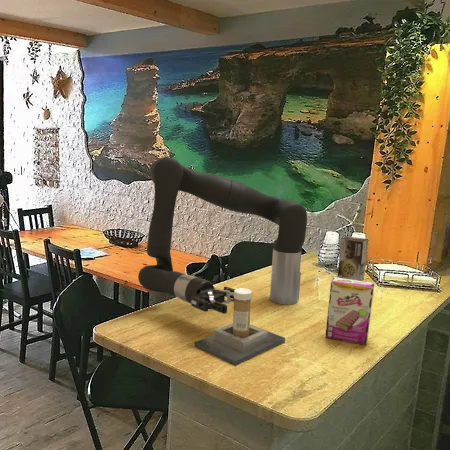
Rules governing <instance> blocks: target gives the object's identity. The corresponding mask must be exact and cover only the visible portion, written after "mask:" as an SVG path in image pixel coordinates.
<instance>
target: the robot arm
mask: <svg viewBox="0 0 450 450" xmlns="http://www.w3.org/2000/svg"><path fill="white" fill-rule="evenodd" d="M149 177H150V179H151V181H152V182H153V184H154V185H153V186H154V203H153V209H152V214H151V219H150V224H149V228H148V236H147V242H146V243H147V246H146V253H147V255H148V256H149V257H150V258H154V259H155V261H156V264H154V265H146V266H143V267H141V269H140V270H139V272H138V275H137V276H138V277H137V278H138V282H139V284H140V285H141V287H142V288H144V289H145V290H147V291H151V292H156V293H163V294H168V295H170V296H173V297H175V298H177V299H180V300H181V301H183V302H186V303H188V304H190V305H191V307H194V308H195V309H198V310H200V311H203V312H206V313H207V312H209V310H210V311H215V312H218V313H221V314H224V315H225V314H227V313H228V305H227V304H230V303H234V290H235V289H236V288H232V287H229V286H224V287H223V289H221V288H215V285H214V284H213V283H212V282H211V281H210V280H208V279H207V280H206V279H205V278H204V279H203V278H201V277H197V276H195V275H190V274H186V273H182V272H180V271H174V268H173V261H172V255H171V250H172V249H171V247H172V237H173V227H174V225H173V224H174V218H175V217H174V216H175V207H176V203H177V198H178V194H179V192H183V193H187V194H189V195H192V196H195V197H196V198H198V199H200V200H202V201H205V202H206V203H210V204H211V205H214V206H217V207H219V208H223V209H225V210H228V211H232V212H236V213H240V214H247V215H255V216H258V217H260V218H263V219H265V220H267V221H269V222H272V223H273V224H276V225H277V226H278V231H277V232H278V233H277V238H276V239H274V241H273V246H272V247H273V249H272V262H271V275H270V276H271V277H270V290H269V291H270V292H269V300H270V301H271V302H273V303H274V304H279V305H294V304H297V303H298V300H300V291H301V290H300V289H301V280H302V279H301V276H302V272H301V264H302V260H301V259H302V250H303V245H304V244H305V240H306V234H307V227H308V226H307V225H308V213H307V209H306V208H305V206H303V204H301V203H298V202H296V201H295V200H294V201H293V200H291V199H285V198H280V197H277V196H276V197H275V196H272V195H268V194H265V193H264V192H263V193H262V192H260V191H259V190H257V189H255V188H253V187H251V186H250V185H247V184H244V183H242V182H239V181H237V180H234V179H231V178H228V177H224V176H222V175H216V174H212V173H206V172H200V171H197V170H194V169H192V168H189V167H187V166H185V165H182V164H181V163H180V162H179V161H178V160H177V159H176V158H173V157H170V156H164V157H160V158H159V157H158V158H157V159H156V160H154V161H153V162H152V163H151V165H150V167H149Z"/></svg>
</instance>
